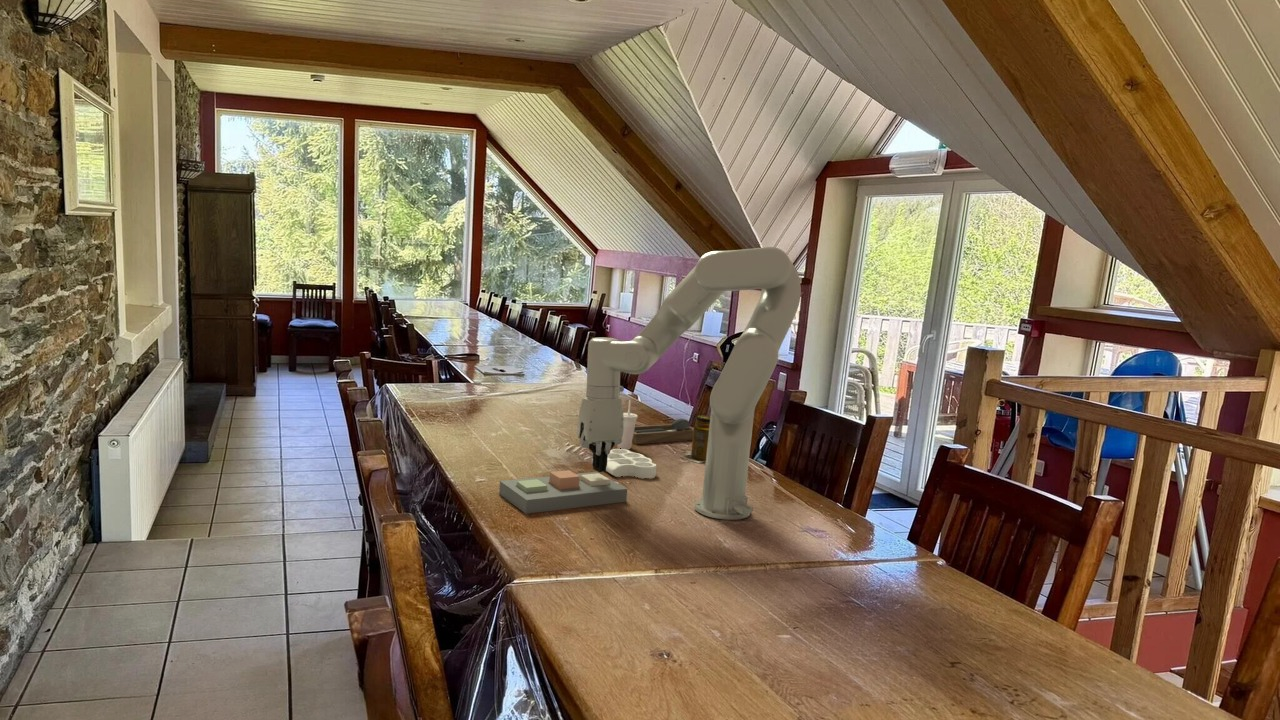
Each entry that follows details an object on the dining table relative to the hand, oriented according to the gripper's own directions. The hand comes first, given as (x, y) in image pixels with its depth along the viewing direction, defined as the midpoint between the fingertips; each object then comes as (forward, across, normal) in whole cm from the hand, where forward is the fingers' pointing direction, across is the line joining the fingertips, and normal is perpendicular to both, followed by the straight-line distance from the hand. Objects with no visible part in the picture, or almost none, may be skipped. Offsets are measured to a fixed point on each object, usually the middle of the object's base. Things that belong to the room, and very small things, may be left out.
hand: (599, 470), depth 185 cm
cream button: (+6, +1, -1) cm, 6 cm away
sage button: (+5, +17, -1) cm, 18 cm away
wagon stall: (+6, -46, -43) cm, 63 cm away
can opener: (+6, -46, -42) cm, 63 cm away
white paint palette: (+7, -18, -17) cm, 25 cm away
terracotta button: (+4, +9, -1) cm, 10 cm away
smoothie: (+6, -29, -36) cm, 47 cm away
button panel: (+6, +9, -1) cm, 10 cm away
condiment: (+7, -44, -20) cm, 49 cm away
